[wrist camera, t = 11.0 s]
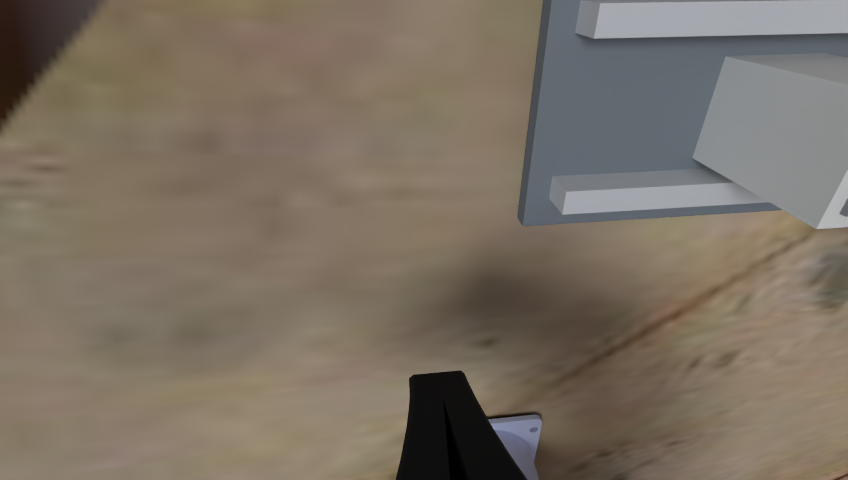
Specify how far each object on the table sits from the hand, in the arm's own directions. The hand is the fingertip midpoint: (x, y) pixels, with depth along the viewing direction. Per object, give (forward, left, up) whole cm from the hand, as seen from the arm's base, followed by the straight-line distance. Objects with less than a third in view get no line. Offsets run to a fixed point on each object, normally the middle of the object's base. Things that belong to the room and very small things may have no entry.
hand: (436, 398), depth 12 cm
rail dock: (+5, -14, -9) cm, 18 cm away
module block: (+5, -14, -9) cm, 17 cm away
